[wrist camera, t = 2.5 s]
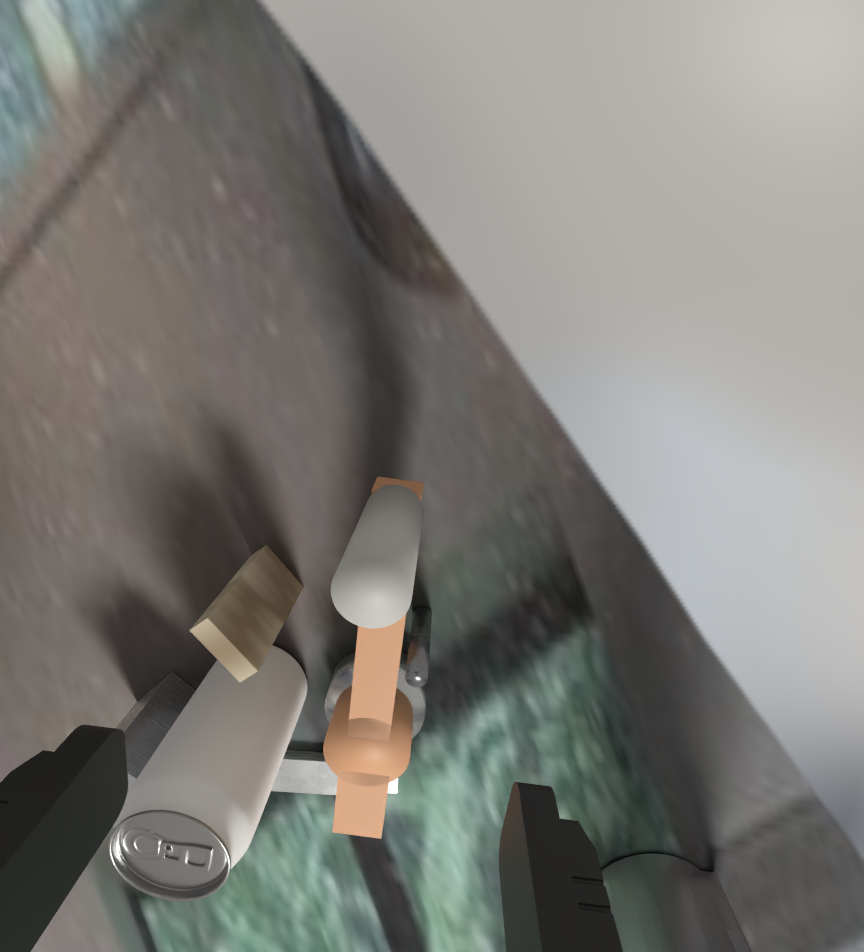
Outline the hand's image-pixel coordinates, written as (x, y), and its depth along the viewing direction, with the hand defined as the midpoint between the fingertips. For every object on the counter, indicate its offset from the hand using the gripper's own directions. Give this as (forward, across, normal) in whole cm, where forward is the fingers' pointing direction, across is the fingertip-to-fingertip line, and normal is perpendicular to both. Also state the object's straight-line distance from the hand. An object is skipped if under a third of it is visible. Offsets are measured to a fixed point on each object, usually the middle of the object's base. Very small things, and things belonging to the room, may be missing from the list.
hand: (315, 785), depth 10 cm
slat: (+20, +7, +7) cm, 23 cm away
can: (+21, +8, +16) cm, 27 cm away
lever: (+18, 0, +10) cm, 20 cm away
